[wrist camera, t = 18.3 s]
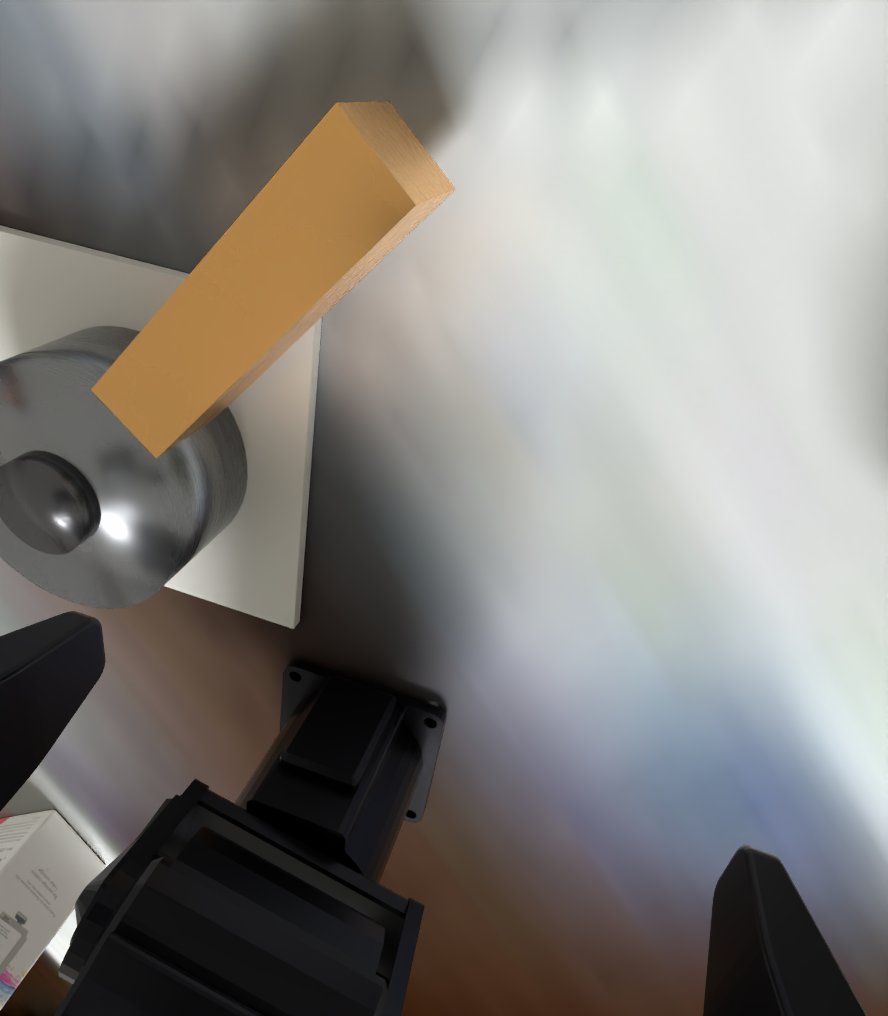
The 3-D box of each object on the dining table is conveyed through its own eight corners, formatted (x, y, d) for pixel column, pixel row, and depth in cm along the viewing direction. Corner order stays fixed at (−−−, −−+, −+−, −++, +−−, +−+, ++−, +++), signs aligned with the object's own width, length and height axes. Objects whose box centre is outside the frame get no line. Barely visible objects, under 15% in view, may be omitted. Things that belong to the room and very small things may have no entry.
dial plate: (299, 620, 27) (293, 629, 27) (25, 530, 29) (16, 536, 29) (322, 308, 21) (315, 312, 21) (-29, 218, 23) (-42, 220, 23)
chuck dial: (163, 578, 28) (74, 660, 24) (2, 415, 26) (-123, 474, 22) (535, 276, 19) (494, 326, 15) (324, -3, 17) (212, -34, 13)
